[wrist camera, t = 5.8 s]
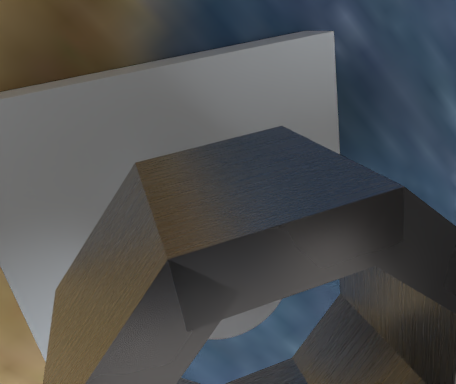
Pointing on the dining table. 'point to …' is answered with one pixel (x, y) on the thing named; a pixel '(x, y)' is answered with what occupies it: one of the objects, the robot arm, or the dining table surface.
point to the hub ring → (258, 268)
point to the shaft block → (140, 146)
